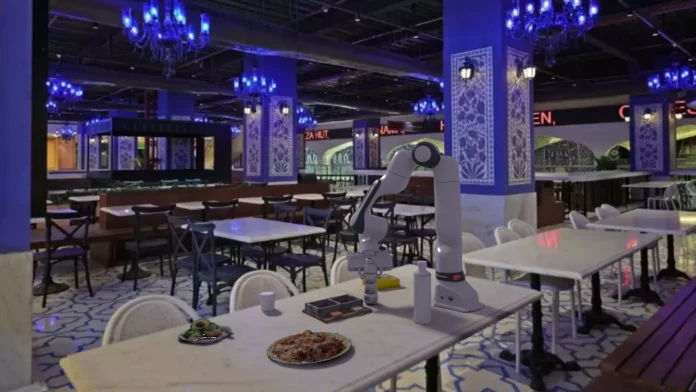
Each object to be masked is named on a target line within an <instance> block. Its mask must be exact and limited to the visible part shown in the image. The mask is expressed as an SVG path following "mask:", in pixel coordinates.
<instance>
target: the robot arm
mask: <svg viewBox="0 0 696 392" xmlns="http://www.w3.org/2000/svg"><path fill="white" fill-rule="evenodd" d="M417 167H422V168H427V169H430V170H432V175H433V193H434V229H435V233H436V248H435V249H436V251H435V252H436V253H435V255H436V257H435V258H436V269H435V272H434V273H435V275H434V276H435V280H436V281H435V289H434V294H433V295H434V296H433V300H432V302H433V304H432V305H433V306H434V307H438V308H444V309H448V310H452V311H456V312H460V313H461V312H462V313H469V311H471V312H475V310H476V311H479V310H482V309H483V307H484V308H485V303H483V302H480V300H479V294H478V292H477V290H476V289H475V288H474V287H473V286H472V285H471V284H470V283H469V282H468V281H467V279H466V277H467V276H468V273H465V272H464V270H463V220H462V196H461V179H460V170H459V165H458V162H457V159H456V158H455V157H453V156H451V155H442V154H441V151H440V148H439V146H437V145H436V144H435V143H433V142H431V141H428V140H427V141H425V140H424V141H419V142H417V143H416V144H415V145H414V146H413V148H412V150H408V149H397V150H396V151H395V153H394V154H393V156H392V157H391V159H390V162H389V163H388V166H387V168H386V170H385V171H384V172H385V173H384V174H383V175H382V177H380V178H378V179H376V180H375V181H373V183H372V184H371V186H370V187H369V188H368V190H367V192H366V193H365V195H364V197H363V199H362V201H361V202H360V204H359V205H358V207H357V208H356V210H355V211H354V213H353V214H352V215H351V217H350V220H349V223H348V224H349V228H350V230H351V231H352V232H353V233H354V234H357V235H358V241H359V245H358V247H359V249H358V250H359V251H355V252H354V251H353V252H352V251H350V252H349V253H347V254H346V261H347V263H346V264H347V266H346V267H347V268H346V269H347V271H348V272H357V274H358V276H359V278H360V280H362V279H364V274H363V269H364V267H365V265H366V264H367V263H366V258H374V261H375V263H374V265H375V266H376V268H377V270H378V272H379V273H377V279H381V275H382V274H384V273H383V272H385V271H392V270H393V268H394V267H393V265H394V263H393V259H392V256H391V254H390V253H389V251H390V250H389V247H387V246H384V245H383V246H382V245H379V242H382V241H383V240H385V239H386V238H387V237H388V236H389V235H390V232H391V226H390V222H389V220H388V219H387V218H385V217H383V216H382V217H381V216H378V215H374V214H371V213H369V211H370V210H371V209H372V207H373V205H374V203H375V202H376V200H377V199H378V198H379V197H381V196H385V195H395V194H399V193H401V192H403V191H404V190H405V189H406V187H407V186H408V184H409V181H410V180H411V177H412V173H413V171H414V170H415V169H416V168H417ZM481 308H482V309H481ZM478 309H479V310H478Z"/></svg>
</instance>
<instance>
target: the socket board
mask: <svg viewBox="0 0 696 392" xmlns="http://www.w3.org/2000/svg"><path fill="white" fill-rule="evenodd" d="M301 310H302V311H301V312H302V313H304V314H306V315H308V316H310V317H312V318H314V319H316V320H318V321H321V322H322V323H324V324H328V323H331V322H332V323H333V322H336V321H340V320H343V319H347V318H351V317H355V316H360V315H364V314H368V313H372V312H373V309H372V308H370V307H368V306H365V305H364V298H361V297H358V296H354V295H352V294H349V293H346V294H342V295H341V294H340V295H337V296H336V295H335V296H332V297H327V298H323V299H318V300H314V301H309V302H304V309H301Z"/></svg>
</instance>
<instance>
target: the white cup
mask: <svg viewBox="0 0 696 392" xmlns="http://www.w3.org/2000/svg"><path fill="white" fill-rule="evenodd" d="M258 294H259V302H260V309H261V310H260V311H262V312H270V311H271V312H272V311H273V310H275V306H276V305H275V304H276V302H275V301H276V291H271V290H267V291H261V292H260V293H258Z"/></svg>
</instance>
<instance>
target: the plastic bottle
mask: <svg viewBox="0 0 696 392" xmlns="http://www.w3.org/2000/svg"><path fill="white" fill-rule="evenodd" d="M366 263H367V264H366V265H365V267H364V269H363V271H362V274H364V282H365V286H364V293H363V303H365V304H366V305H376V304H377V303H378V302H379V294H378V290H377V274H379V273H378V272H379V271H378V270H377V268H376V266H375V265H374V263H375V261H374V258H366Z"/></svg>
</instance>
